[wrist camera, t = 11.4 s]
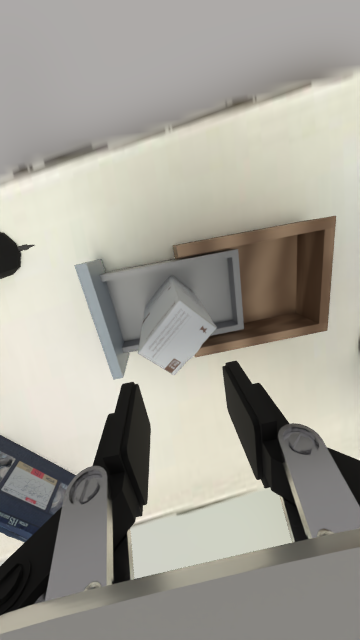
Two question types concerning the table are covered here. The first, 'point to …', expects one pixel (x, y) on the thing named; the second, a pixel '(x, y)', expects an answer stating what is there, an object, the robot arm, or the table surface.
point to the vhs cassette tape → (28, 490)
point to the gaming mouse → (9, 256)
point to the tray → (142, 284)
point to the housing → (276, 281)
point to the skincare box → (174, 326)
